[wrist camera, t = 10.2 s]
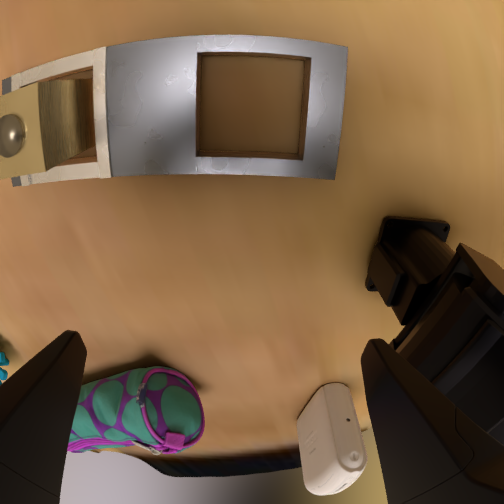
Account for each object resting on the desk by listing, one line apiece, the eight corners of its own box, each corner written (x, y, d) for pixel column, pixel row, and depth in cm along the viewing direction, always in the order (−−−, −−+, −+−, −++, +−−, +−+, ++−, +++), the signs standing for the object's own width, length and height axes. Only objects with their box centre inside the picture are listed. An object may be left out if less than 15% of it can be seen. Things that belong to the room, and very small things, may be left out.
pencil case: (155, 341, 26) (134, 431, 18) (209, 387, 30) (205, 466, 22) (53, 379, 31) (32, 435, 23) (99, 412, 35) (85, 466, 27)
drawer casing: (338, 50, 14) (349, 46, 12) (326, 171, 18) (335, 180, 16) (17, 78, 13) (0, 80, 11) (26, 178, 17) (11, 187, 15)
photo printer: (319, 381, 30) (339, 482, 19) (353, 381, 31) (378, 475, 20) (291, 421, 35) (301, 502, 25) (320, 420, 36) (334, 498, 25)
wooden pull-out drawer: (97, 78, 14) (34, 82, 8) (100, 142, 17) (43, 173, 11) (45, 91, 14) (-21, 105, 8) (50, 150, 16) (-12, 183, 11)
